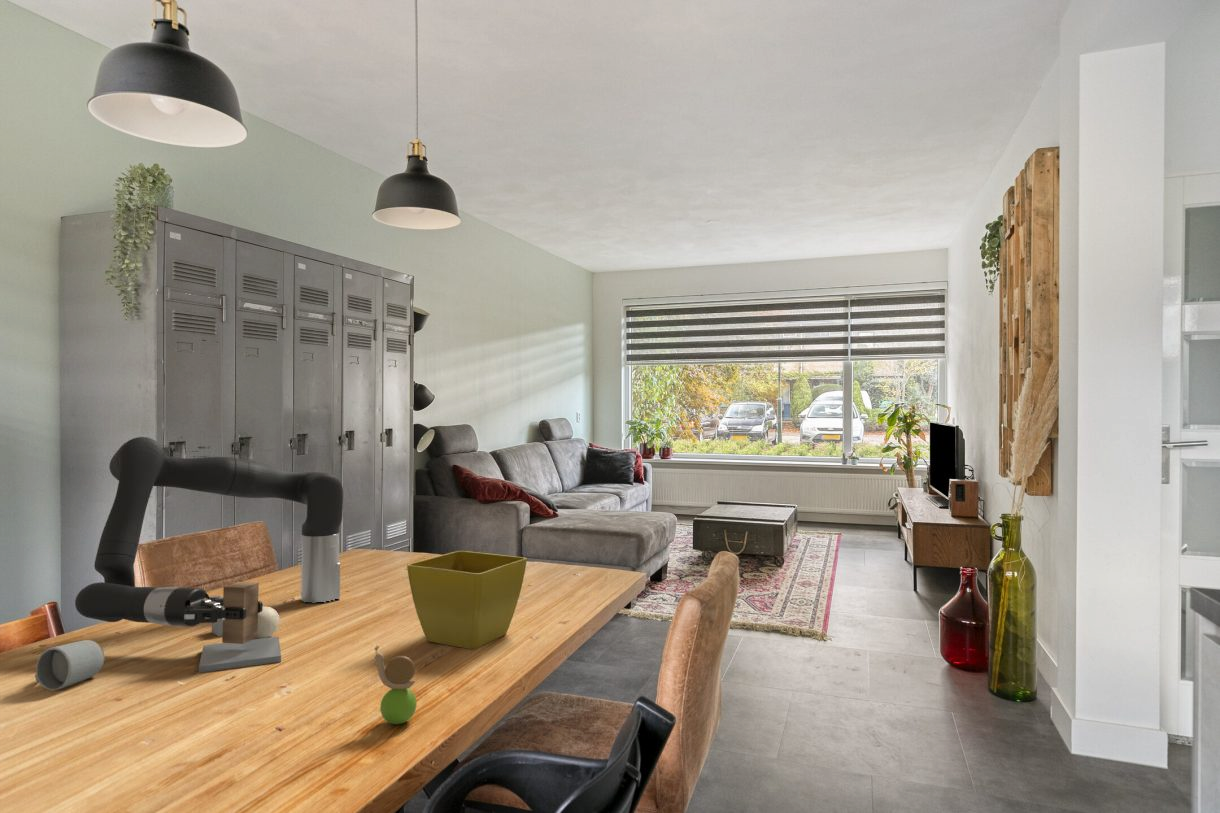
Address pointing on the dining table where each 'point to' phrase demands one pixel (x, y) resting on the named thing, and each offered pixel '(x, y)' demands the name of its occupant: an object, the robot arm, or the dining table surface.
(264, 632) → the steamed bun
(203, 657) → the plate
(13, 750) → the dining table surface
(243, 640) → the walnut block
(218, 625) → the grey block
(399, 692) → the snail figurine
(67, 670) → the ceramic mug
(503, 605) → the flower pot
